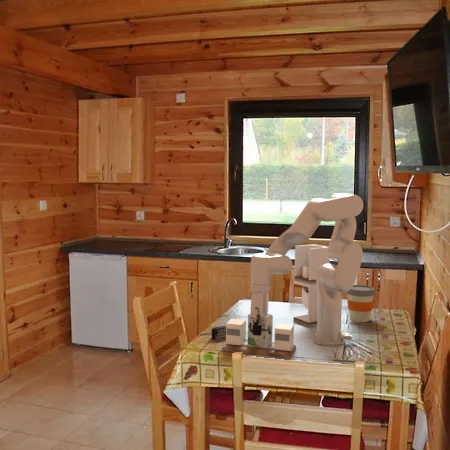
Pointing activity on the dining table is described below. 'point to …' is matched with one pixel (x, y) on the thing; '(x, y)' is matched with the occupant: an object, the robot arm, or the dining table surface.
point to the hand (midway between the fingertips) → (259, 331)
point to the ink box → (266, 331)
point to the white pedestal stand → (309, 279)
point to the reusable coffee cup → (360, 302)
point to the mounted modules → (281, 338)
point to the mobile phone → (219, 332)
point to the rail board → (260, 350)
